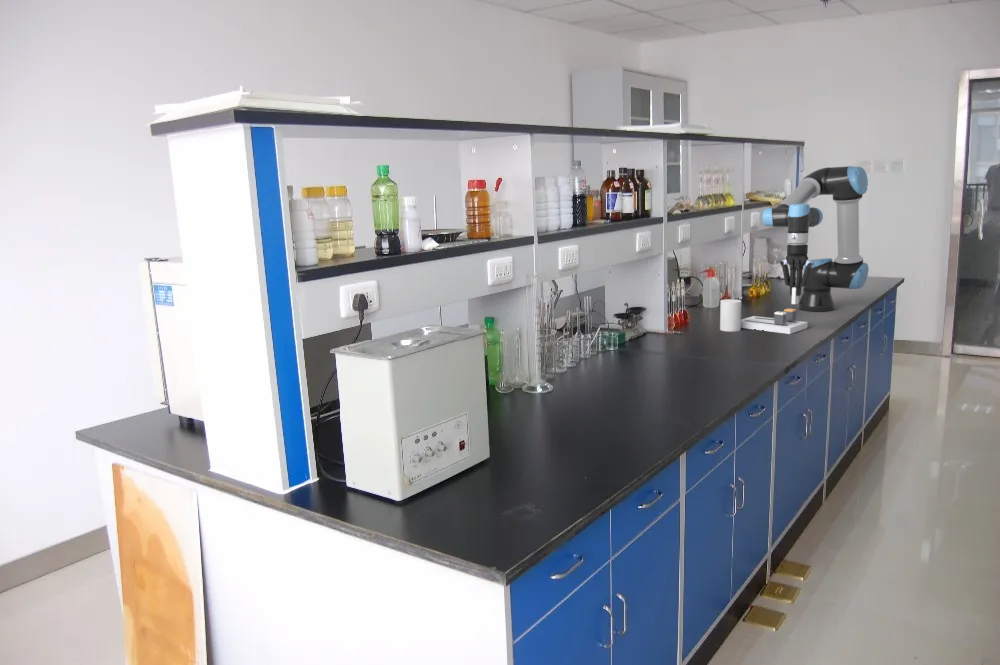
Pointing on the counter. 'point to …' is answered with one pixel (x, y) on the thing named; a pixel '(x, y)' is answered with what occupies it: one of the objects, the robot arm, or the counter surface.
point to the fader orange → (790, 314)
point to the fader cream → (780, 318)
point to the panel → (772, 325)
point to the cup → (730, 315)
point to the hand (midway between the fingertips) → (794, 303)
